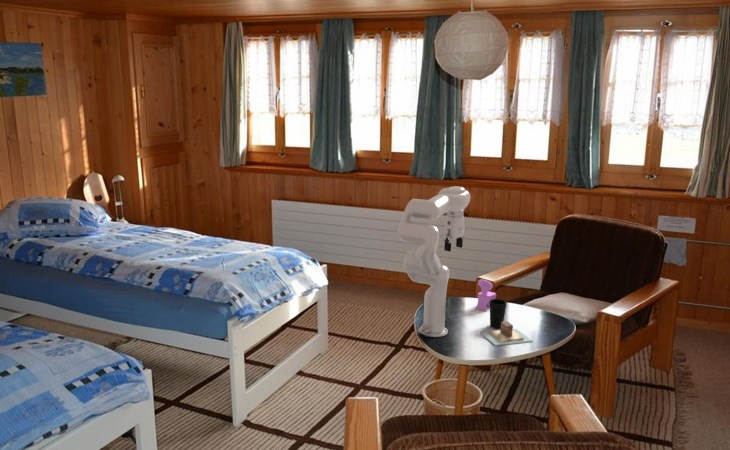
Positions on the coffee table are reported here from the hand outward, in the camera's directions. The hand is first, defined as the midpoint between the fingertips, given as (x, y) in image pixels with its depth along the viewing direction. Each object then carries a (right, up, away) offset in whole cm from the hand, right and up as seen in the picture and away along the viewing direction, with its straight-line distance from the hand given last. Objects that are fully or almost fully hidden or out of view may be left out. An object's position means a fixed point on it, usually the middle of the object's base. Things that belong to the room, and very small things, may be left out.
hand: (453, 249), depth 306 cm
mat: (+21, -39, -17) cm, 47 cm away
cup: (+19, -36, -4) cm, 41 cm away
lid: (+21, -38, -17) cm, 47 cm away
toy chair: (+19, -30, +21) cm, 41 cm away
